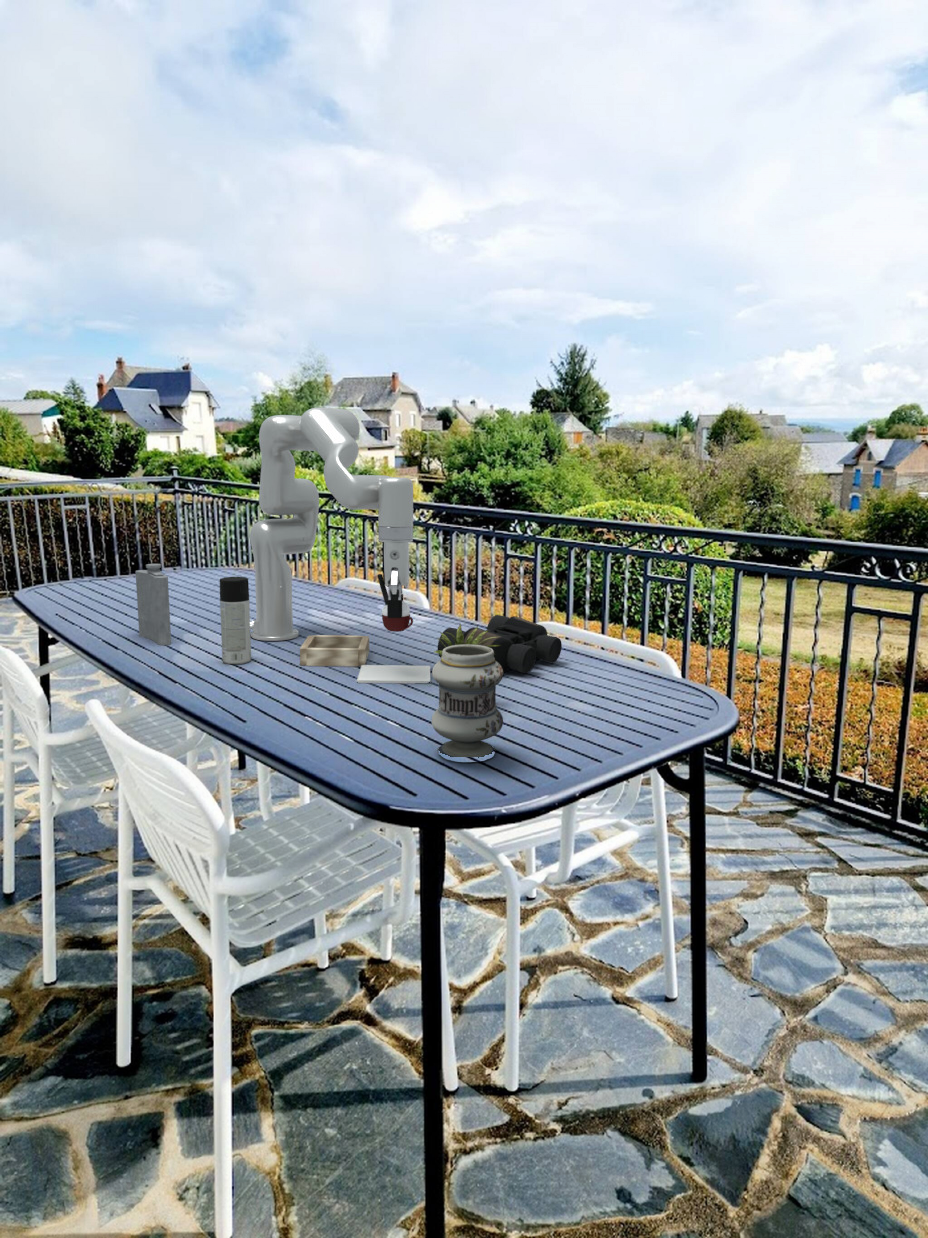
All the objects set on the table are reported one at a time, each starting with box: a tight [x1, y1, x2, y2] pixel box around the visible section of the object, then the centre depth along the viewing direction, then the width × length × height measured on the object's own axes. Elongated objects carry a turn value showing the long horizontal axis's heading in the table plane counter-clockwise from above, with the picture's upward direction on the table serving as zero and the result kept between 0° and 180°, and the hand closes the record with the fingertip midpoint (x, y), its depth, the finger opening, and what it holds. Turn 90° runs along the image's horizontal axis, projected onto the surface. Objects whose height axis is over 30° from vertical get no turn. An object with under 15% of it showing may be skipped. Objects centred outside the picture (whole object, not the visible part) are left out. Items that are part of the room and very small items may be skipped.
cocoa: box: [376, 573, 414, 633], centre depth 178 cm, size 10×6×12 cm, turn 34°
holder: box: [299, 634, 370, 667], centre depth 195 cm, size 15×15×4 cm
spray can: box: [219, 576, 252, 665], centre depth 188 cm, size 7×7×20 cm
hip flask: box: [135, 563, 172, 646], centre depth 208 cm, size 16×4×20 cm, turn 42°
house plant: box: [433, 623, 500, 655], centre depth 160 cm, size 14×14×16 cm
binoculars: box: [437, 614, 563, 674], centre depth 193 cm, size 29×20×10 cm
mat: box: [356, 664, 431, 684], centre depth 181 cm, size 16×13×1 cm
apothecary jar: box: [430, 644, 504, 758], centre depth 133 cm, size 12×12×18 cm
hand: (395, 613), depth 178 cm, fingers closed on cocoa, 6 cm apart
